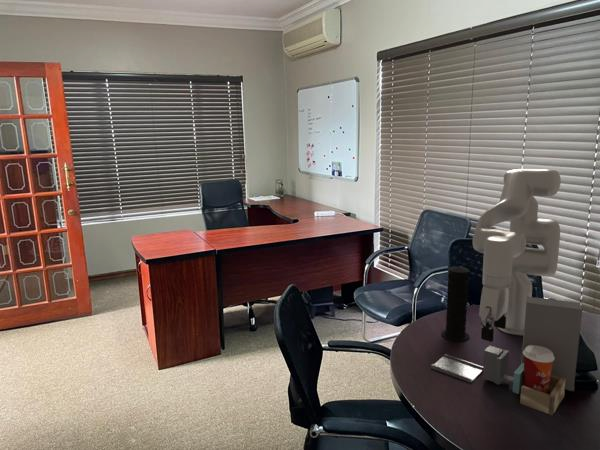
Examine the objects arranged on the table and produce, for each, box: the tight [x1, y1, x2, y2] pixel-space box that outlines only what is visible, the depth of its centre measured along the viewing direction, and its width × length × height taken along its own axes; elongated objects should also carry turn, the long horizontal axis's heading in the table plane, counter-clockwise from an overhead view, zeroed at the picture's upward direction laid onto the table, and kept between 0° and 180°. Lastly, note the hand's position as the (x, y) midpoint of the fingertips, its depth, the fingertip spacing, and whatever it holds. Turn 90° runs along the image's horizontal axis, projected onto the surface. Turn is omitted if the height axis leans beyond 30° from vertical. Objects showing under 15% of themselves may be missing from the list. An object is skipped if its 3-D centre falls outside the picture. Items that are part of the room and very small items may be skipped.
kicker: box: [482, 345, 524, 395], centre depth 128 cm, size 7×11×9 cm, turn 46°
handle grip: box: [440, 266, 471, 343], centre depth 158 cm, size 10×26×10 cm
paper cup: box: [523, 345, 555, 394], centre depth 122 cm, size 8×8×14 cm
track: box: [430, 353, 483, 384], centre depth 138 cm, size 10×13×1 cm
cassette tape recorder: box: [520, 296, 583, 392], centre depth 128 cm, size 14×6×25 cm, turn 64°
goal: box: [519, 375, 566, 416], centre depth 121 cm, size 12×8×6 cm
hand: (493, 333), depth 129 cm, fingers open, 9 cm apart
